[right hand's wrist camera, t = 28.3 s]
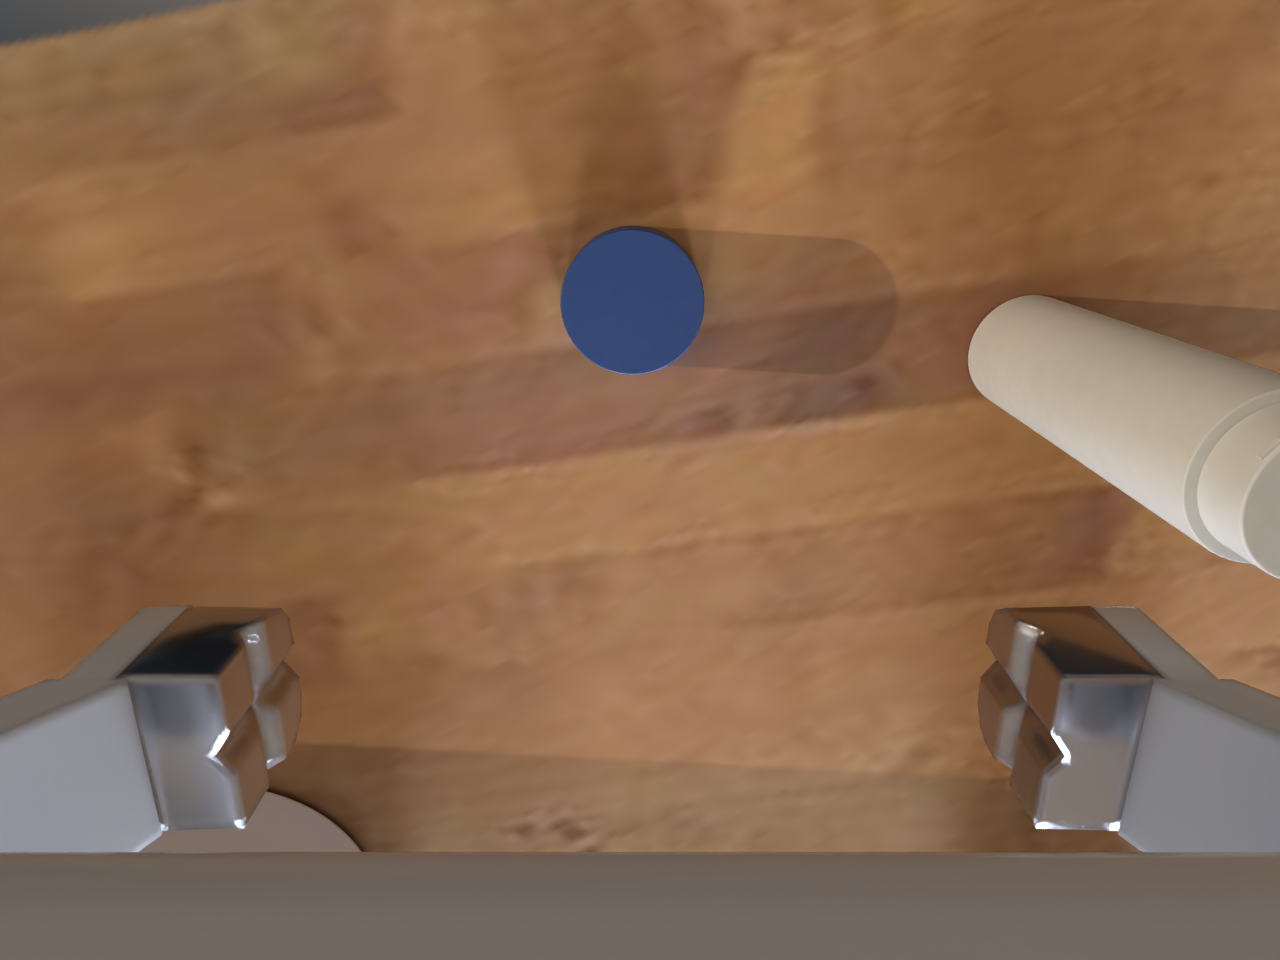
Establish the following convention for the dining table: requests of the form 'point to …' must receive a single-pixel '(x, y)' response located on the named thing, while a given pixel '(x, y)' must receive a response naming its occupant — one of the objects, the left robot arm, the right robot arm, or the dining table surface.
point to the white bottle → (1145, 417)
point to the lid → (632, 300)
